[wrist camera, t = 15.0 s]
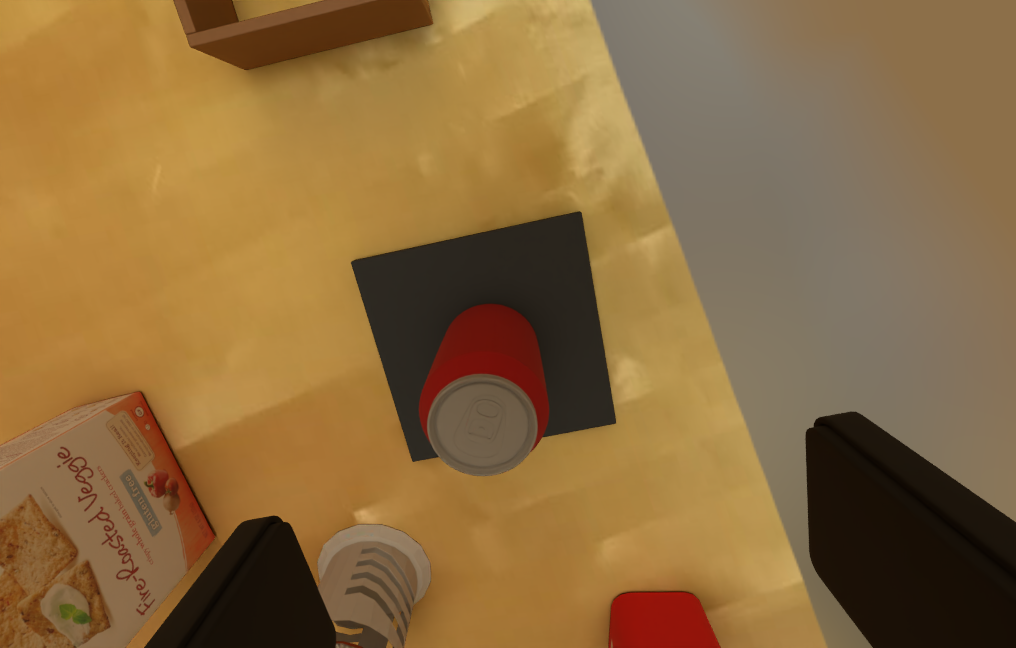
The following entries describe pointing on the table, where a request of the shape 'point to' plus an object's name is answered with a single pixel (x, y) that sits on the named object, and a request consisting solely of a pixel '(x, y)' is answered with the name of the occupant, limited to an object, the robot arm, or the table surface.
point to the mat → (492, 280)
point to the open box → (294, 27)
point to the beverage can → (485, 392)
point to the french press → (372, 583)
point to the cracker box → (92, 527)
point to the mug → (660, 621)
